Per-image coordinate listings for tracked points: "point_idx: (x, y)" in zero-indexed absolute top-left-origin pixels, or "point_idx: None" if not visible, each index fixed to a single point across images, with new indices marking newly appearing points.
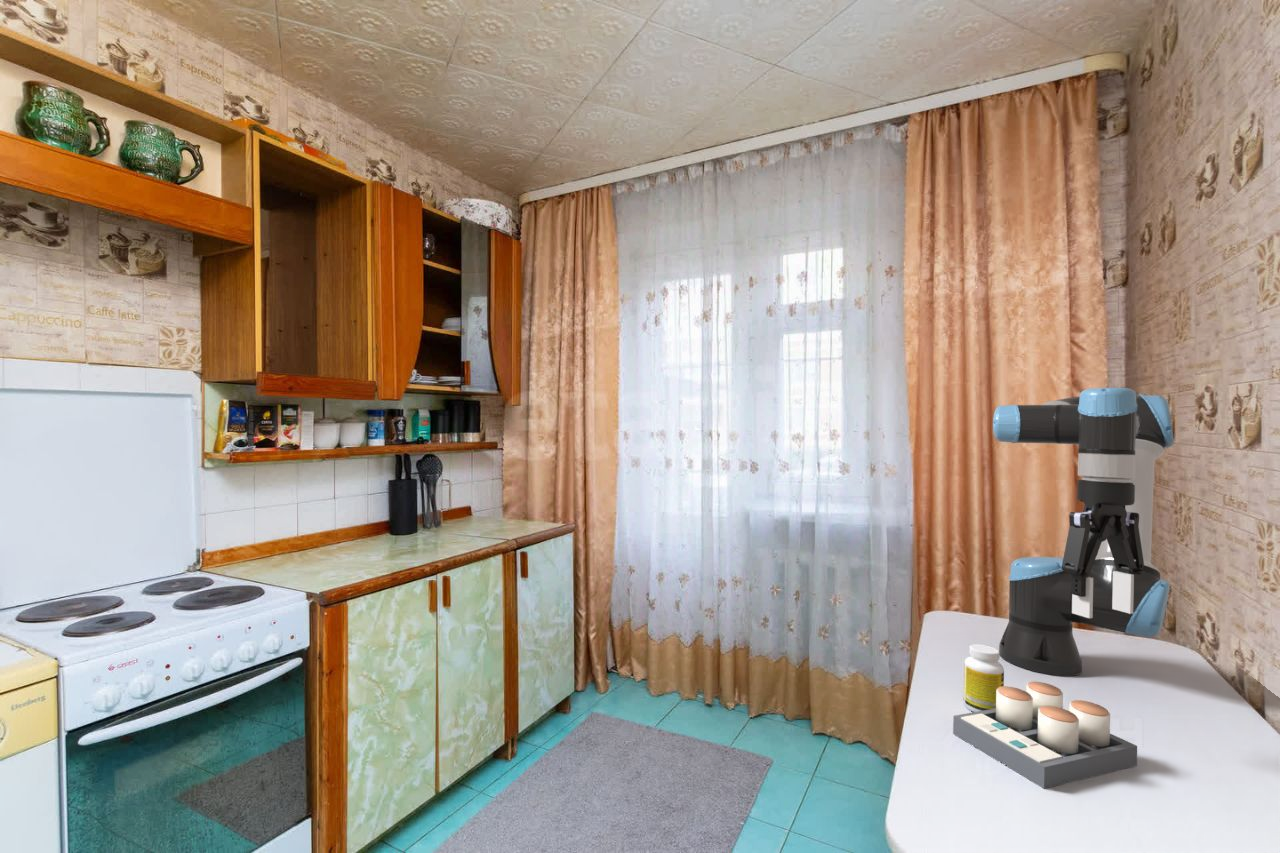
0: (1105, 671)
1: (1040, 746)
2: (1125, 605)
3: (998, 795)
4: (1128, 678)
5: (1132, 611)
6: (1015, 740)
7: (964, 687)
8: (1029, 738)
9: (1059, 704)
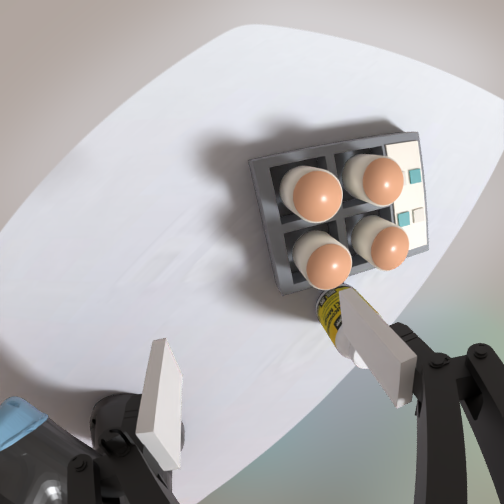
0: (65, 399)
1: None
2: (169, 361)
3: (447, 132)
4: (49, 382)
5: (155, 343)
6: (413, 183)
7: None
8: None
9: (320, 238)
